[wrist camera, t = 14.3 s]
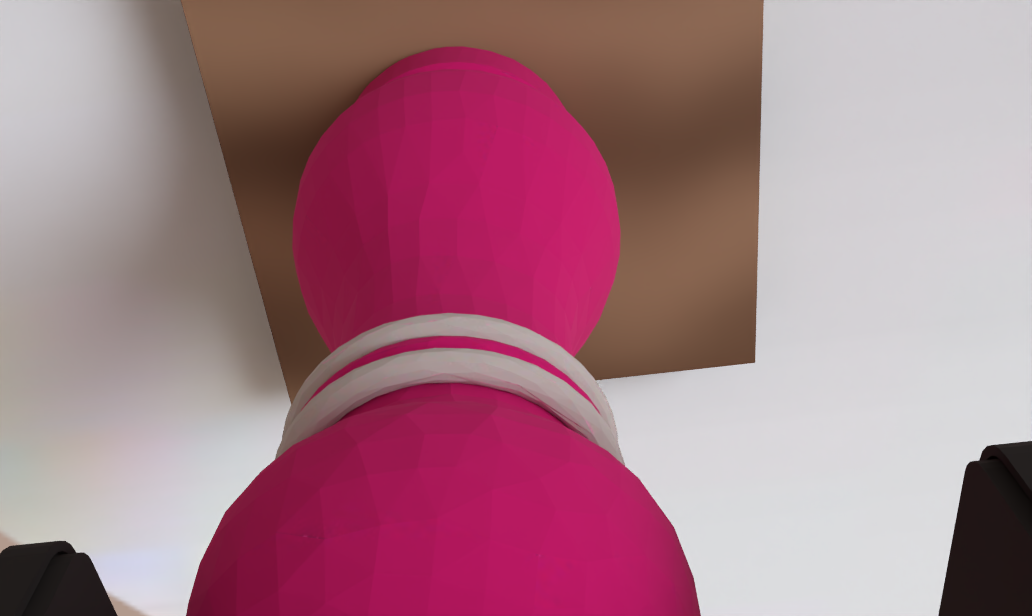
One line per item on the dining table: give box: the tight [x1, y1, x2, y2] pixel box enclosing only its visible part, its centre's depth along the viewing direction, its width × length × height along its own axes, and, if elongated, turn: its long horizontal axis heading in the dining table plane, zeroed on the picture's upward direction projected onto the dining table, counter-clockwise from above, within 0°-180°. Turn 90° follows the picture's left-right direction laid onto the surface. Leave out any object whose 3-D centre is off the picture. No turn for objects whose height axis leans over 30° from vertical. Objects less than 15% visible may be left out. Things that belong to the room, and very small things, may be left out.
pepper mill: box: [186, 46, 701, 616], centre depth 16 cm, size 7×7×20 cm
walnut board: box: [181, 0, 764, 405], centre depth 26 cm, size 16×14×2 cm
